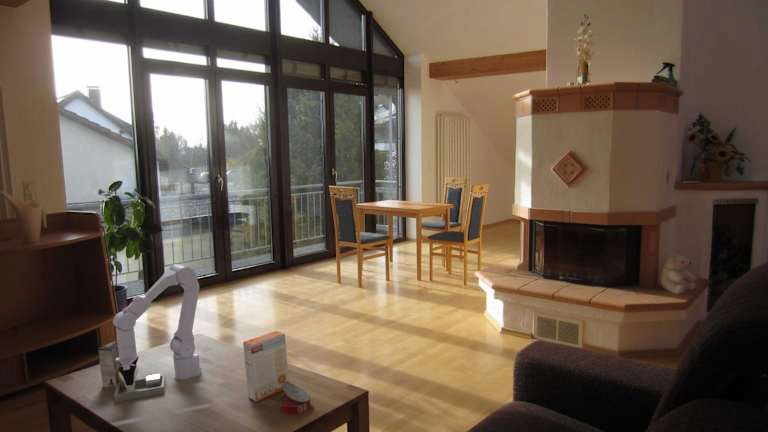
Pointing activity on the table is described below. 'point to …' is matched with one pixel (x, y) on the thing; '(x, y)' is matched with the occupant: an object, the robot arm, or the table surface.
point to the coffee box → (110, 364)
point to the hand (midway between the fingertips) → (130, 381)
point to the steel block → (153, 381)
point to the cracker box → (265, 365)
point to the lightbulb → (131, 387)
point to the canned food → (294, 399)
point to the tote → (138, 390)
